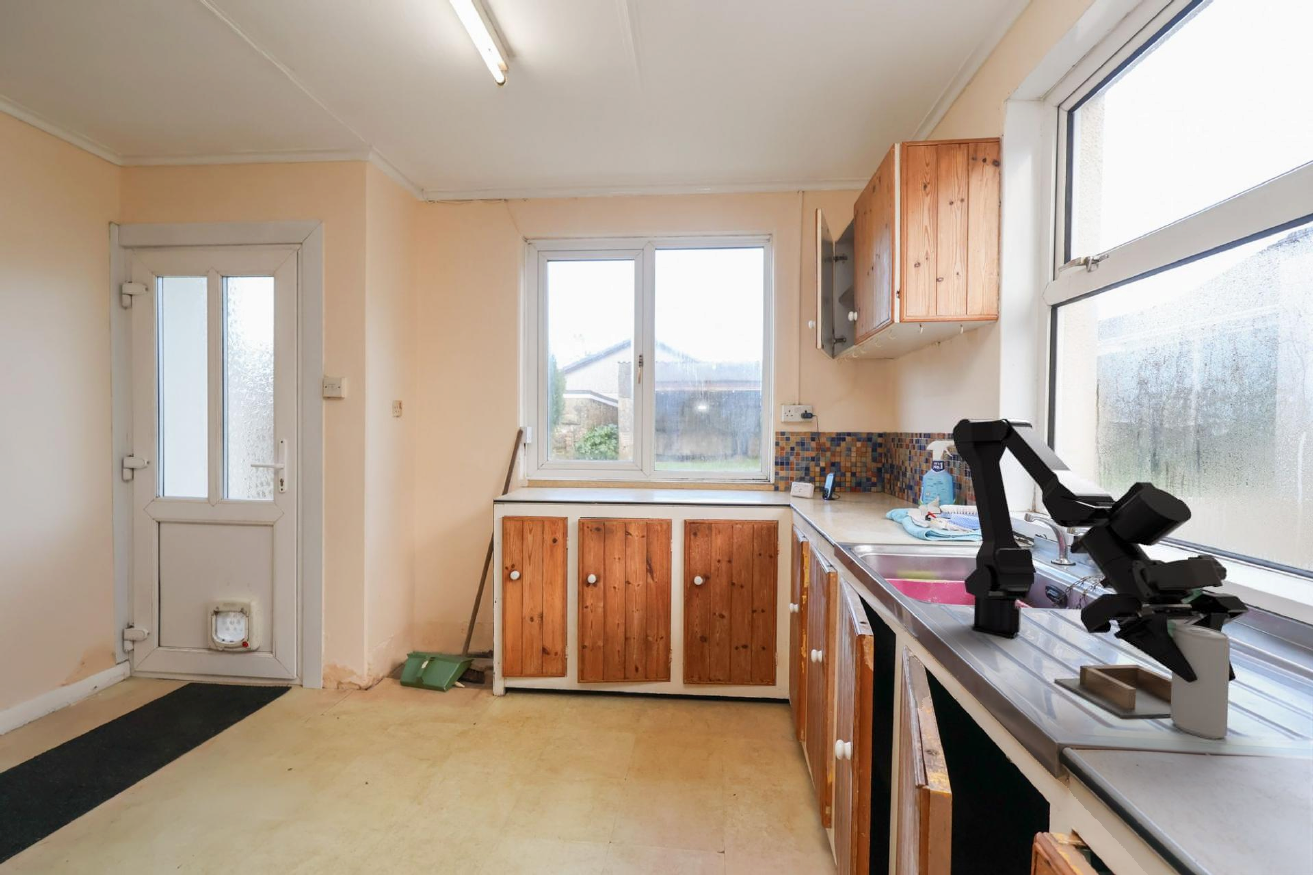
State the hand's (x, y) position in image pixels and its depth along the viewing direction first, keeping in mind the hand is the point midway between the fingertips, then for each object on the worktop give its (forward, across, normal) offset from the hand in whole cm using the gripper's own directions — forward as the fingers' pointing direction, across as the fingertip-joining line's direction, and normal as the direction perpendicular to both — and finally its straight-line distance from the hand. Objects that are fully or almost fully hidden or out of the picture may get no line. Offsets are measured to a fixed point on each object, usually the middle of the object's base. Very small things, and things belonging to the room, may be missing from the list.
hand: (1212, 680), depth 63 cm
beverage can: (+4, 0, +6) cm, 7 cm away
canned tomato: (-14, +27, +24) cm, 39 cm away
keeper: (-1, 0, +11) cm, 11 cm away
